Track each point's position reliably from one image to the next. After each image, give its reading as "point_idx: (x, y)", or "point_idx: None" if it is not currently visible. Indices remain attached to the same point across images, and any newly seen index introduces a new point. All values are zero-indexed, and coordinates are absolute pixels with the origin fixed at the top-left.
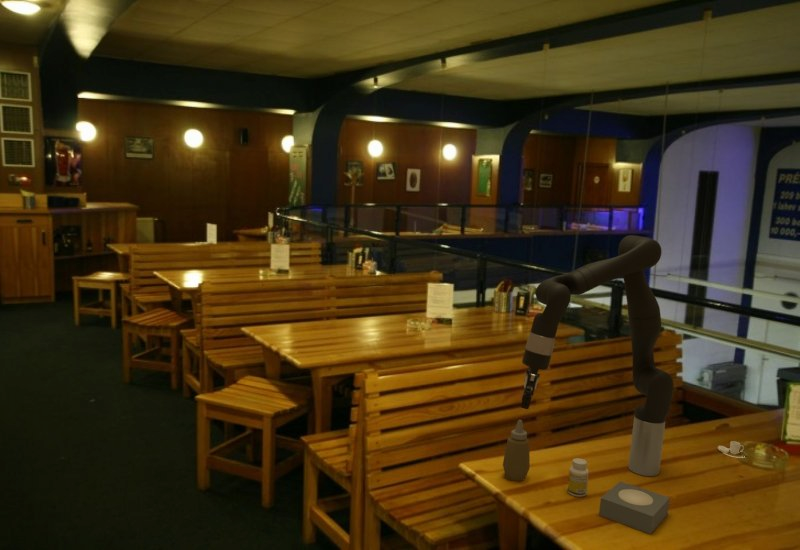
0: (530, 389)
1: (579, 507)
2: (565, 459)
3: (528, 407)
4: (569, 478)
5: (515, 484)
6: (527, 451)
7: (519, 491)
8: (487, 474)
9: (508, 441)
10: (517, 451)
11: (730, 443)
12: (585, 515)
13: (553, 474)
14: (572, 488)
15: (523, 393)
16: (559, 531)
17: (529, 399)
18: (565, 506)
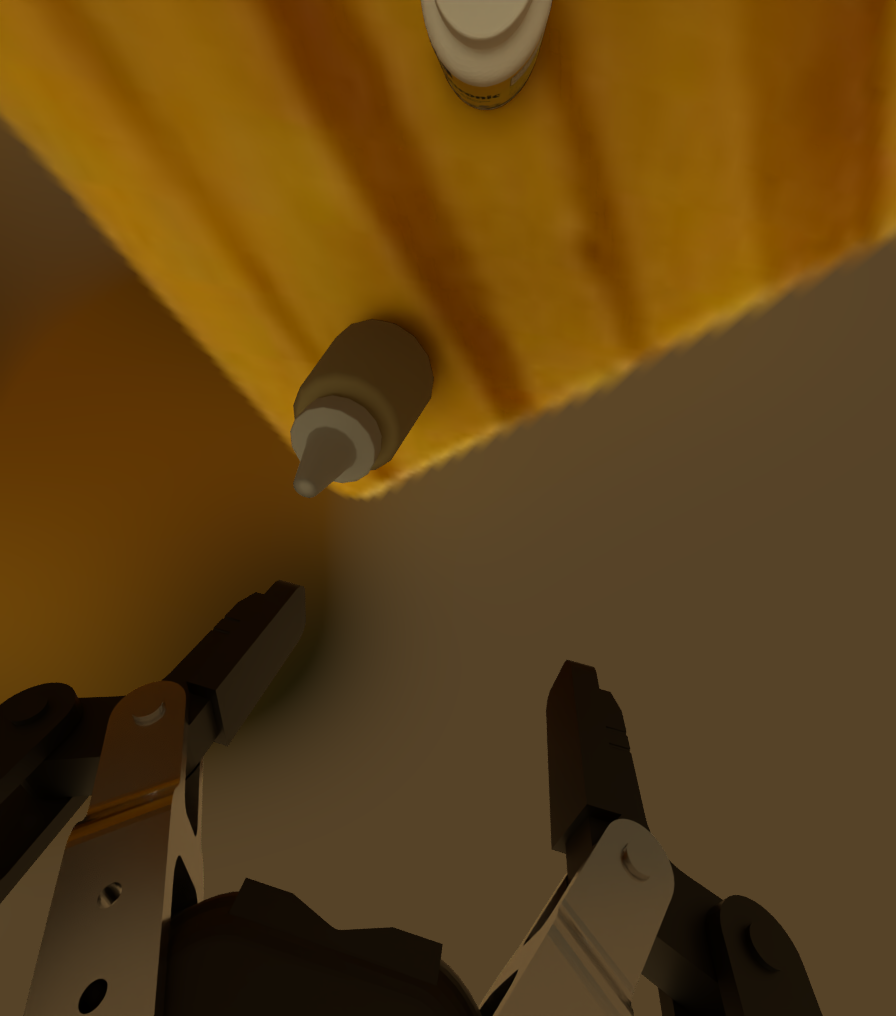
0: (204, 712)
1: (653, 61)
2: (86, 35)
3: (596, 680)
4: (497, 93)
5: (448, 368)
6: (389, 369)
7: (501, 361)
8: None
9: (372, 469)
10: (410, 419)
11: None
12: (745, 35)
13: (310, 166)
14: (524, 79)
15: (263, 692)
16: (842, 241)
17: (639, 795)
18: (633, 159)
